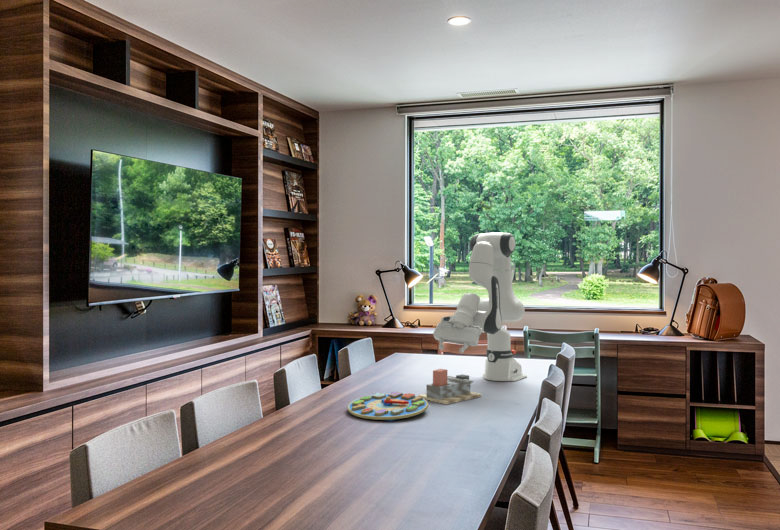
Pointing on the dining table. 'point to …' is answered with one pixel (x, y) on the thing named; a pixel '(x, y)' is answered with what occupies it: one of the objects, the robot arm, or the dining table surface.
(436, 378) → the salmon pink rectangular box
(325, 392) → the dining table surface
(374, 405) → the shape sorting clock
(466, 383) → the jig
